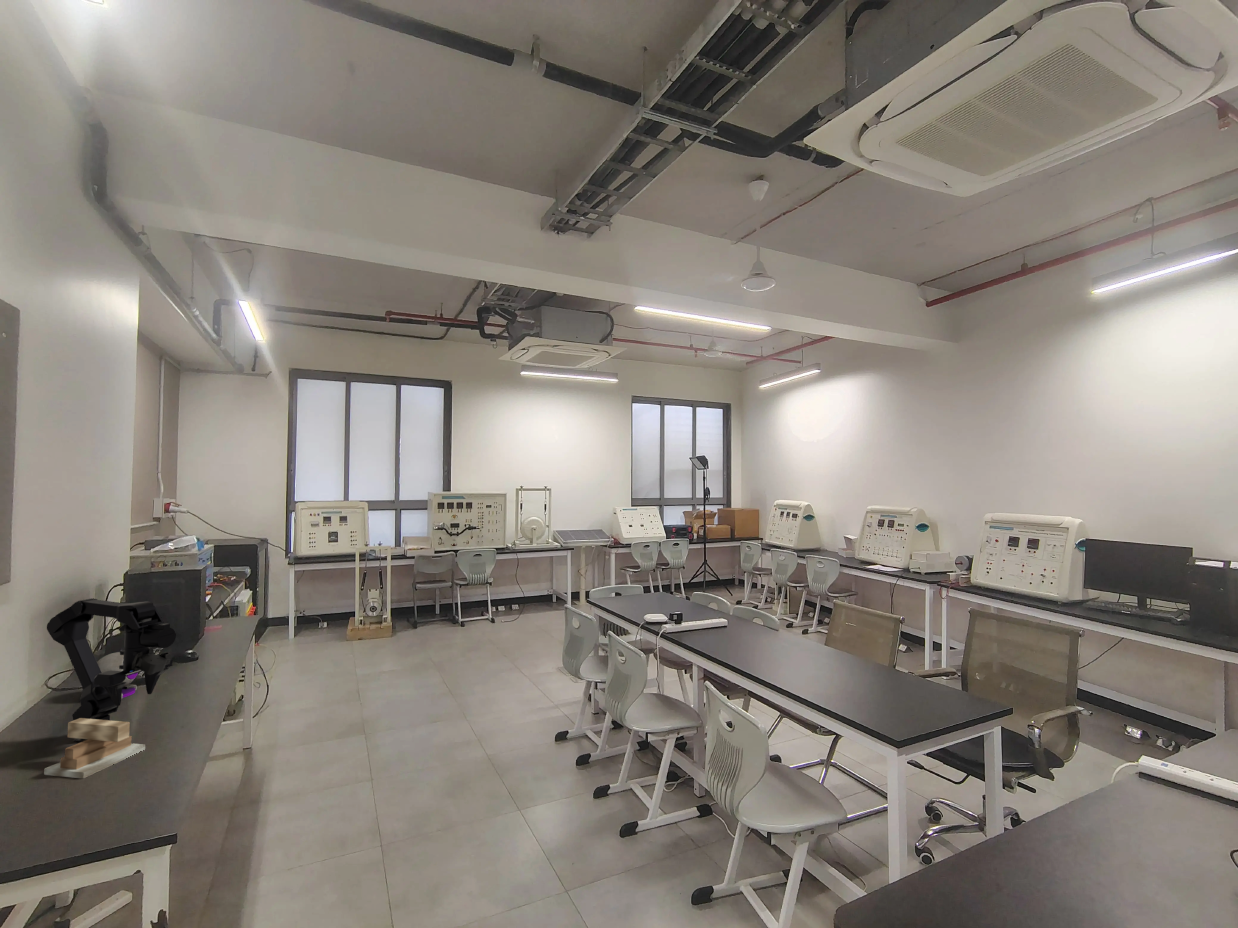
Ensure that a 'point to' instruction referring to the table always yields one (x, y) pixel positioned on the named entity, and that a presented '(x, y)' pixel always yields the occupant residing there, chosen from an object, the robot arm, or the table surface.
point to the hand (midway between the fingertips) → (134, 699)
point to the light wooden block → (98, 729)
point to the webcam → (113, 664)
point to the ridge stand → (92, 757)
